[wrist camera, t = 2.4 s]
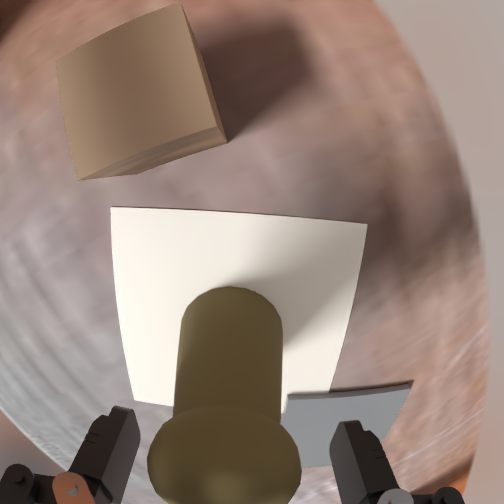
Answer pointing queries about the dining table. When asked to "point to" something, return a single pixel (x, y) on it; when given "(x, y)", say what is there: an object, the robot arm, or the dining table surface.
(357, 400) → the slate coaster
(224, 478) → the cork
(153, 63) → the walnut block
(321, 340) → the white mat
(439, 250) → the dining table surface
